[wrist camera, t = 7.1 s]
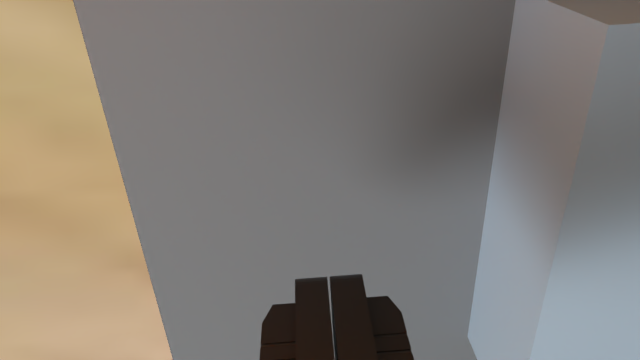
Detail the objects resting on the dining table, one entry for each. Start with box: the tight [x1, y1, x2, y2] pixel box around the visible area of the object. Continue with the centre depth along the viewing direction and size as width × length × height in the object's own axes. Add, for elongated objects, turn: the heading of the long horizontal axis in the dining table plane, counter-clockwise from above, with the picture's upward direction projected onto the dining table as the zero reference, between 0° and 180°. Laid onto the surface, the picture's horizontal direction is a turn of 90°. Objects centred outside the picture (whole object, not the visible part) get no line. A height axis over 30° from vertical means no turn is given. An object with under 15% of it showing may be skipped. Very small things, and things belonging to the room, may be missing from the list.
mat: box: [73, 0, 516, 360], centre depth 15 cm, size 26×16×1 cm, turn 93°
